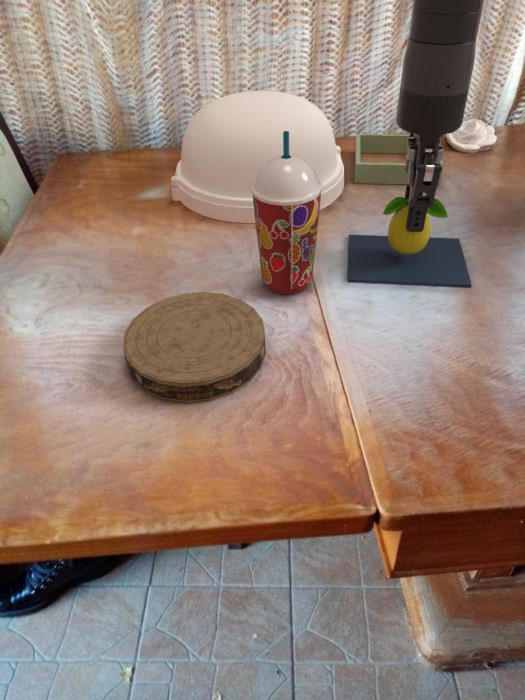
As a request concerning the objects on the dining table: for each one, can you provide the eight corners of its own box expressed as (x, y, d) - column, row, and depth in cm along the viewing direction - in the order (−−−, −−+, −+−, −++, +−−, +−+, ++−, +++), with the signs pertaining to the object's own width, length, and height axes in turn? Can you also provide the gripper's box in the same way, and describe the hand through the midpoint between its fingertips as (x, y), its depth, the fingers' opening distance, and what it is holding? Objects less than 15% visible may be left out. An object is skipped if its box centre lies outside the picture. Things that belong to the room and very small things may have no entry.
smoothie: (327, 294, 70) (336, 139, 57) (266, 306, 69) (260, 151, 55) (305, 261, 76) (308, 115, 63) (249, 272, 75) (239, 124, 61)
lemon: (438, 262, 73) (452, 193, 67) (400, 271, 72) (411, 202, 65) (412, 239, 78) (423, 173, 71) (376, 247, 77) (384, 181, 70)
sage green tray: (431, 152, 104) (434, 134, 101) (439, 185, 93) (443, 165, 91) (354, 151, 106) (356, 133, 103) (354, 183, 95) (355, 164, 92)
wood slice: (196, 296, 71) (193, 277, 69) (293, 344, 63) (293, 324, 61) (99, 361, 62) (92, 342, 60) (197, 426, 54) (194, 406, 52)
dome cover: (307, 140, 111) (308, 65, 101) (381, 200, 89) (391, 112, 80) (154, 167, 103) (140, 89, 94) (195, 240, 82) (183, 148, 72)
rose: (509, 118, 104) (489, 133, 98) (503, 141, 106) (483, 157, 101) (460, 109, 109) (438, 123, 103) (455, 131, 111) (434, 146, 106)
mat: (458, 240, 79) (459, 238, 79) (471, 287, 70) (471, 284, 70) (348, 236, 81) (348, 234, 81) (347, 281, 72) (347, 279, 72)
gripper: (480, 103, 54) (448, 249, 66) (460, 65, 65) (435, 197, 76) (404, 103, 55) (385, 247, 67) (397, 65, 66) (382, 195, 77)
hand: (412, 220), depth 71 cm, fingers closed on lemon, 4 cm apart
